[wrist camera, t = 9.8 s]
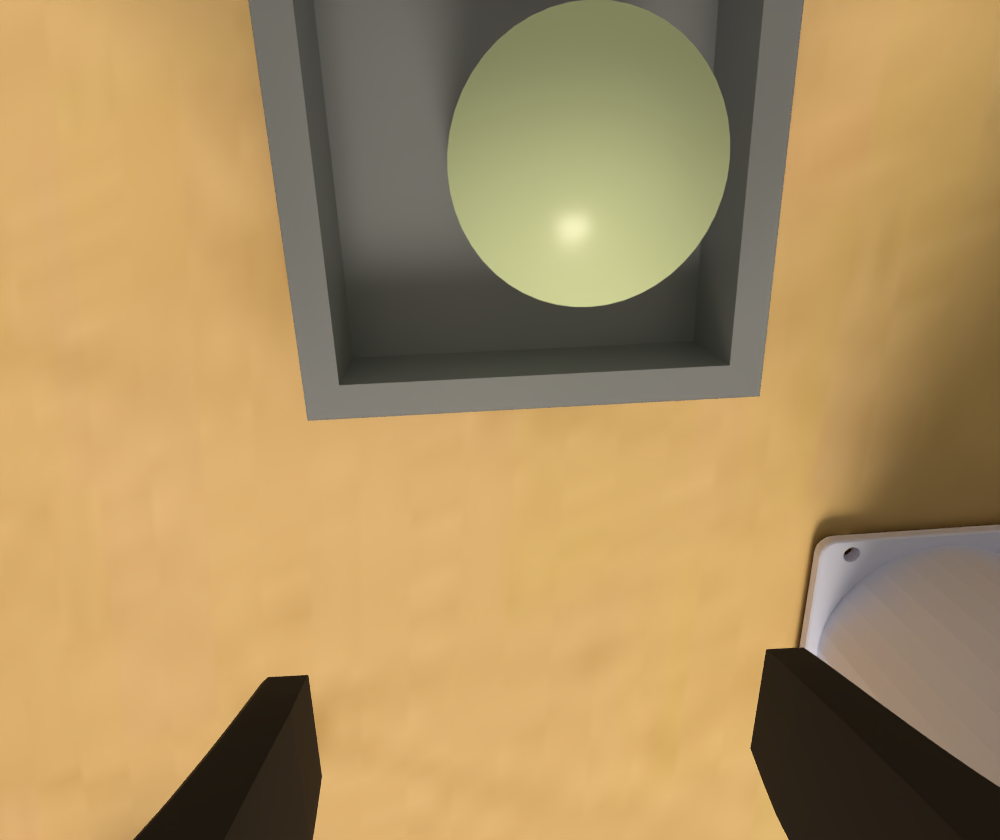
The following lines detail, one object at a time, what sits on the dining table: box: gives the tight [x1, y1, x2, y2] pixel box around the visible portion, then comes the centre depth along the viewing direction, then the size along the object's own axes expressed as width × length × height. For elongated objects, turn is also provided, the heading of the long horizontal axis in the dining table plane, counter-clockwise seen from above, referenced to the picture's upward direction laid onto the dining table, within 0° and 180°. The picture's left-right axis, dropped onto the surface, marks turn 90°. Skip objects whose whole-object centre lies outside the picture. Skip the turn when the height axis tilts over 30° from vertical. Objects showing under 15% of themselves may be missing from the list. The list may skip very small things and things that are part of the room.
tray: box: [248, 0, 804, 421], centre depth 15 cm, size 11×11×3 cm
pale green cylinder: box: [447, 0, 730, 307], centre depth 12 cm, size 4×4×7 cm
